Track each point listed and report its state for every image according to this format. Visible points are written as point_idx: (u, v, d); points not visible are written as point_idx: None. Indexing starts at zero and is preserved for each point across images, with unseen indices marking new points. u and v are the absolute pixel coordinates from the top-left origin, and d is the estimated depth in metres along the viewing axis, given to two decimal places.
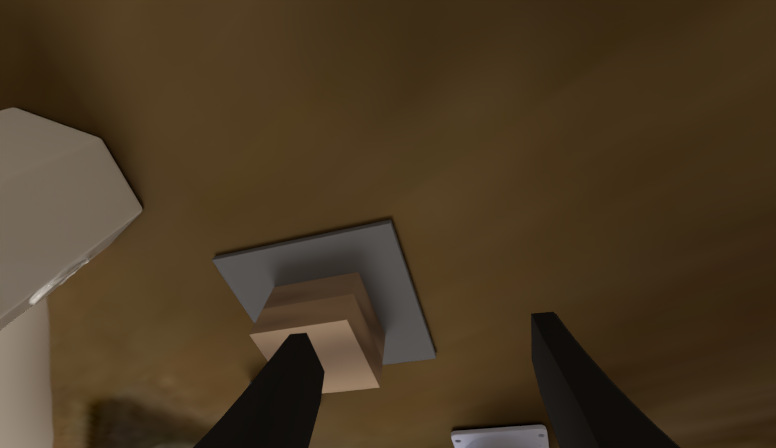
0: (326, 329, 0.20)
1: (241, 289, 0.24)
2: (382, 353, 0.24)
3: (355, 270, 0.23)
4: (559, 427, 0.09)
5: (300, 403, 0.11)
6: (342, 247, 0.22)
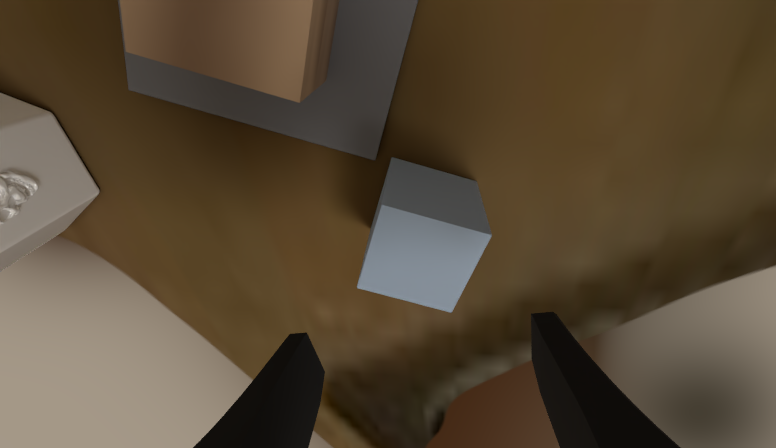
0: None
1: (186, 92, 0.17)
2: None
3: None
4: (559, 427, 0.09)
5: (300, 403, 0.11)
6: None
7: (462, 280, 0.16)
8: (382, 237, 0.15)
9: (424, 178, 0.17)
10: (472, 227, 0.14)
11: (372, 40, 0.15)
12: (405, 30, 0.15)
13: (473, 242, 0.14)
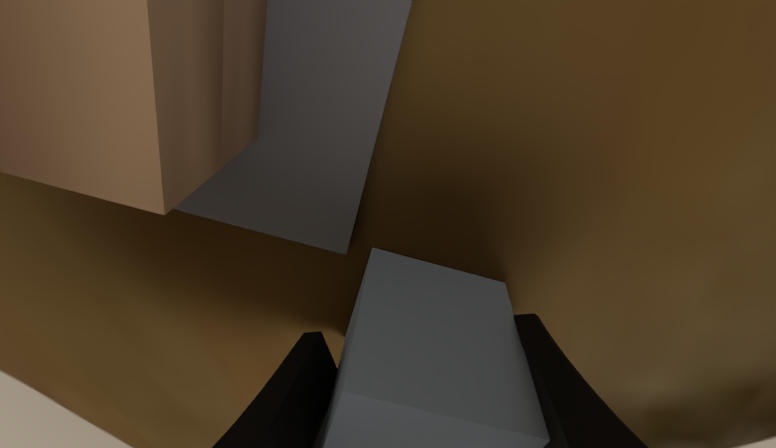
0: None
1: None
2: None
3: None
4: None
5: (315, 402, 0.11)
6: None
7: None
8: (348, 432, 0.08)
9: (423, 293, 0.10)
10: (513, 423, 0.08)
11: (330, 73, 0.08)
12: (389, 56, 0.08)
13: (514, 447, 0.08)
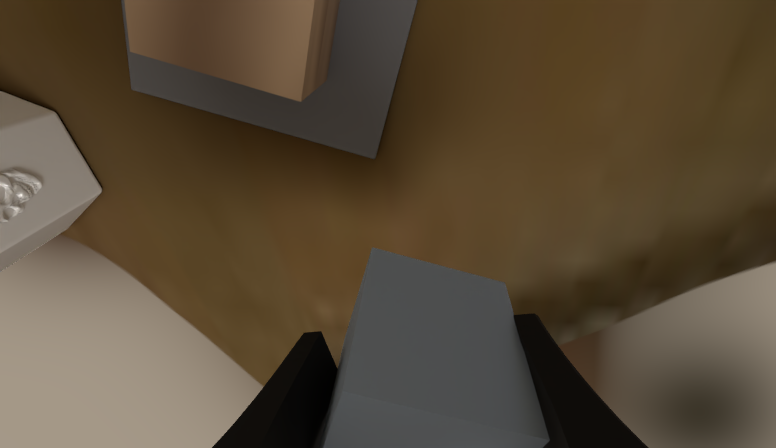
0: None
1: (188, 91, 0.17)
2: None
3: None
4: None
5: (316, 402, 0.11)
6: None
7: None
8: (348, 431, 0.08)
9: (423, 293, 0.10)
10: (513, 423, 0.08)
11: (371, 41, 0.15)
12: (404, 30, 0.15)
13: (514, 447, 0.08)
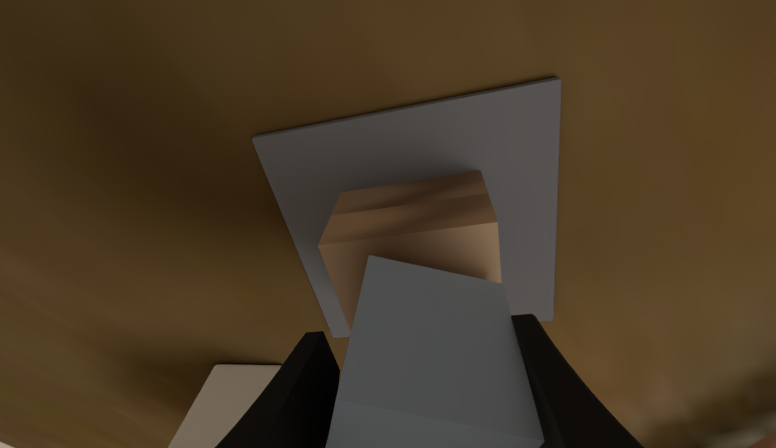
0: (341, 274, 0.13)
1: None
2: (480, 189, 0.13)
3: (338, 195, 0.16)
4: None
5: (318, 402, 0.11)
6: (300, 205, 0.16)
7: None
8: (347, 438, 0.08)
9: (419, 298, 0.11)
10: (507, 424, 0.08)
11: (523, 243, 0.16)
12: (552, 226, 0.16)
13: None
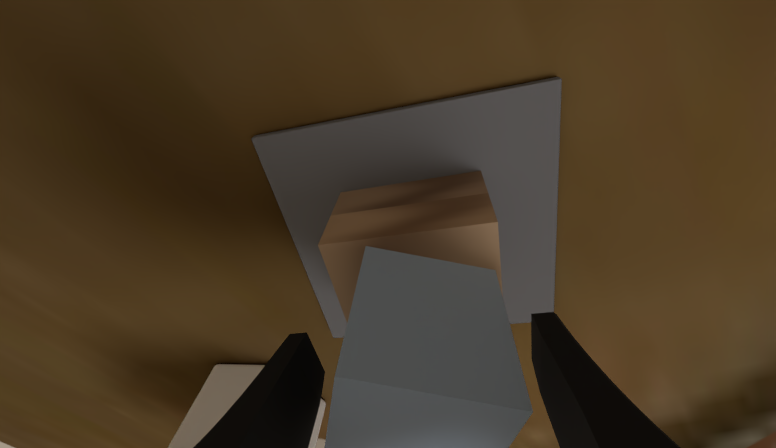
0: (341, 274, 0.13)
1: None
2: (481, 189, 0.13)
3: (338, 195, 0.16)
4: (559, 427, 0.09)
5: (300, 403, 0.11)
6: (300, 205, 0.16)
7: None
8: (346, 415, 0.09)
9: (414, 284, 0.11)
10: (497, 397, 0.08)
11: (523, 243, 0.16)
12: (552, 226, 0.16)
13: (501, 420, 0.08)
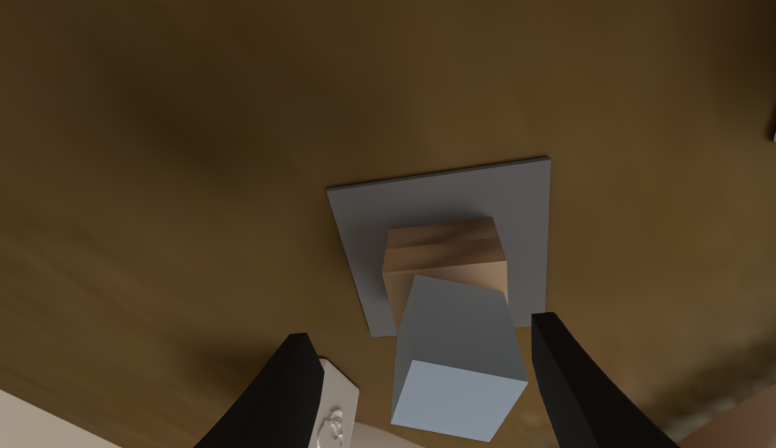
0: (395, 292, 0.19)
1: None
2: (493, 233, 0.19)
3: (386, 231, 0.21)
4: (559, 427, 0.09)
5: (300, 403, 0.11)
6: (357, 238, 0.22)
7: (499, 417, 0.15)
8: (415, 384, 0.14)
9: (451, 302, 0.17)
10: (507, 373, 0.14)
11: (522, 268, 0.22)
12: (544, 256, 0.21)
13: (509, 387, 0.14)
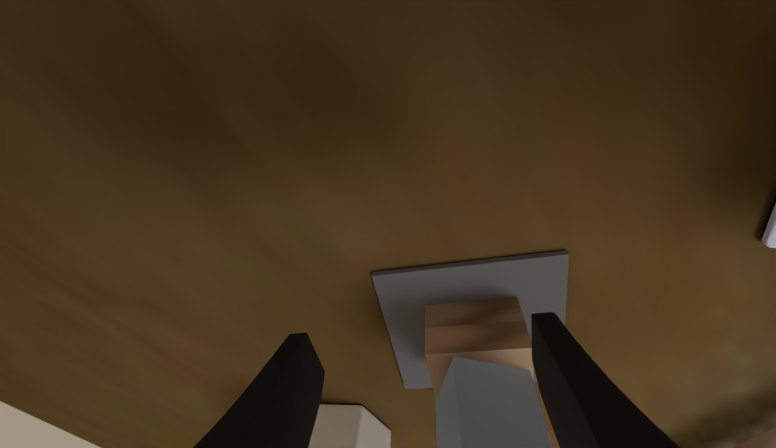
0: (436, 369, 0.22)
1: None
2: (519, 316, 0.22)
3: (423, 307, 0.24)
4: (559, 427, 0.09)
5: (300, 403, 0.11)
6: (396, 311, 0.25)
7: None
8: None
9: (487, 385, 0.20)
10: None
11: None
12: None
13: None
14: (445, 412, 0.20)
